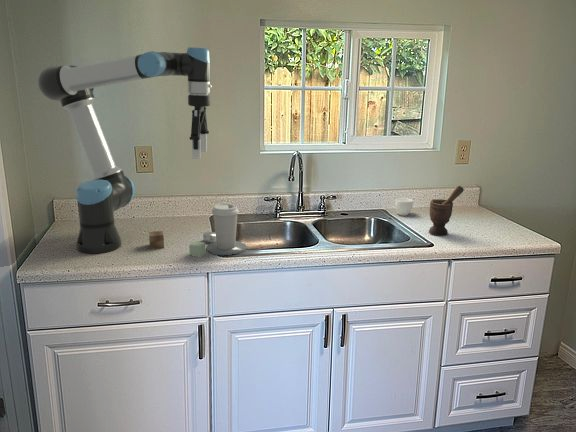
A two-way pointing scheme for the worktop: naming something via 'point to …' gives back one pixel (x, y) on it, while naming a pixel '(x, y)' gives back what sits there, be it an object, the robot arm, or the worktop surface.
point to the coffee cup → (225, 225)
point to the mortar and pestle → (442, 212)
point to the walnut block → (156, 239)
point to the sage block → (197, 249)
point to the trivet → (237, 249)
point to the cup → (403, 206)
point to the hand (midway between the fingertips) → (199, 155)
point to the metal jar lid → (209, 237)
